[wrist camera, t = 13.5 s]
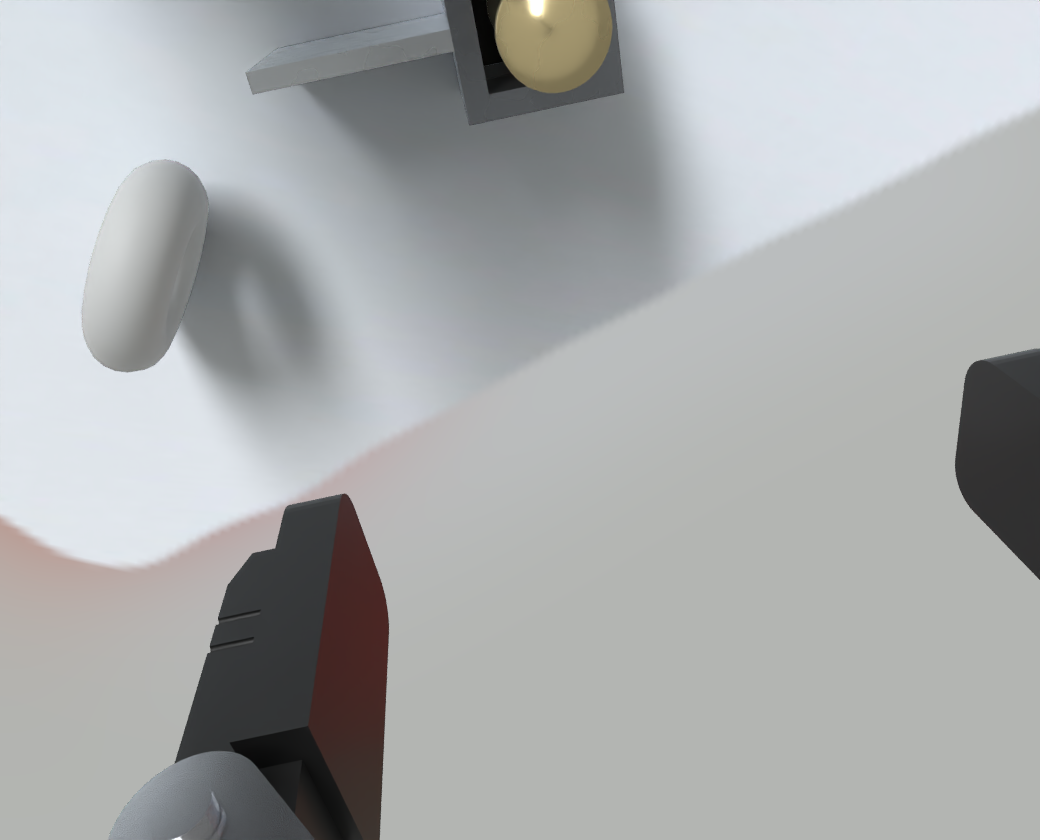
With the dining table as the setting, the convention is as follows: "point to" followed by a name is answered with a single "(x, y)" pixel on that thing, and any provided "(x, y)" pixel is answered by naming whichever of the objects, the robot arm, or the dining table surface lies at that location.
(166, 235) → the donut
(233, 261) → the dining table surface
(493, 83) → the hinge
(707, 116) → the dining table surface
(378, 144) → the dining table surface
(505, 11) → the pin
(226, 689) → the robot arm
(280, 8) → the dining table surface
